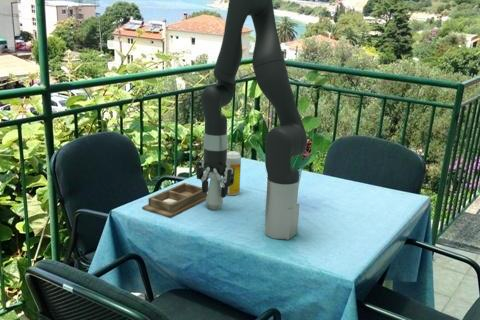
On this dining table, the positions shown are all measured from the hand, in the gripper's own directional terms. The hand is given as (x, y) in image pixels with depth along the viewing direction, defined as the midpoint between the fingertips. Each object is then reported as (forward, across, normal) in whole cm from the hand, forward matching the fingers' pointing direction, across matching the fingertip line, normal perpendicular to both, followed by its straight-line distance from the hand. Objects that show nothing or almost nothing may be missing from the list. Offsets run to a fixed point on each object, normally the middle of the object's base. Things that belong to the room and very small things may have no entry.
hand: (214, 194), depth 171 cm
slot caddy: (+5, +12, +4) cm, 14 cm away
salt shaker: (+5, 0, 0) cm, 5 cm away
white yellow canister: (+5, +3, -15) cm, 16 cm away
